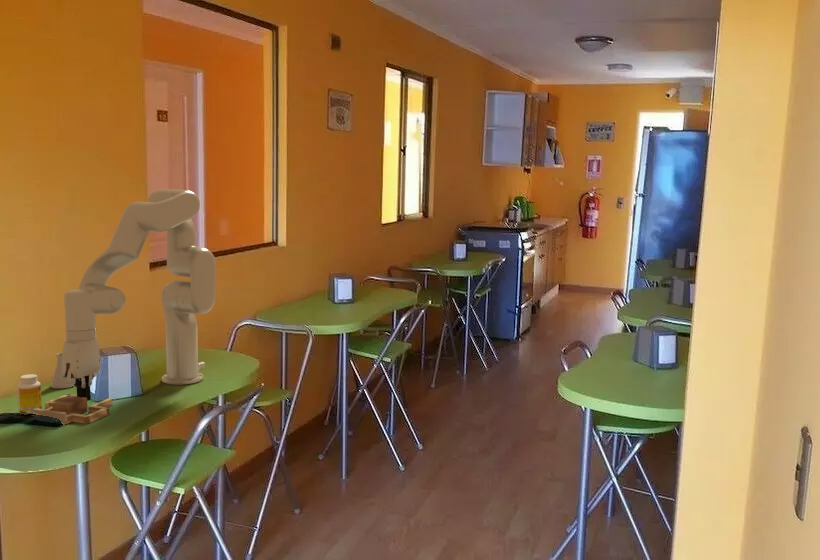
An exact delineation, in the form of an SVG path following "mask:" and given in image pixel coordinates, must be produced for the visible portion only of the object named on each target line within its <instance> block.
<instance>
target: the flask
mask: <svg viewBox="0 0 820 560" xmlns="http://www.w3.org/2000/svg"><path fill="white" fill-rule="evenodd" d="M55 356H56V358H57V362H56V368H55V371H54V374H53V378H52V380H51V382H50V385H49V386H50V387H51V388H52V389H67V388H73V387H75V386H74V384H68V383H67V377H63V376H62V352H58V353H56V354H55ZM72 386H73V387H72Z"/></svg>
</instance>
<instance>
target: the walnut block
mask: <svg viewBox="0 0 820 560" xmlns="http://www.w3.org/2000/svg"><path fill="white" fill-rule="evenodd" d="M52 405H53V411H59V412H66V413H67V415H68V414H71V413H74V414H81V415H84V414H86V413H89V412H88V401H87V398H84V397H77V396H70V397H68V398H65V399H62V400H60V401H57V402H54V403H52Z"/></svg>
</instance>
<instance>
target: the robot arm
mask: <svg viewBox="0 0 820 560" xmlns="http://www.w3.org/2000/svg"><path fill="white" fill-rule="evenodd" d="M200 208H201V201H200V198H199V197H198V195H197V194H196V193H195V192H194V191H191V190H187V189H172V188H171V189H169V188H162V189H160V188H159V189H157V190H153V191H152V192H151V193H150V194H149V197H148V201H135V202H130V203H129V204H128V205H127V206H126V207H125V208H124V211H123V213H122V215H121V218H120V220H119V222H118V225H117V226H116V229H115V231H114V234H113V236H112V238H111V241H110V242H109V245H108V247H107V248H106V249H105V250H104V251H103V252H102V253H101V254H99V256H97V257H96V258H95V260H94V261H93V262H92V263H91V264H90V265H89V266H88V268H87V269H86V271H85V272H84V274H83V276H82V278H81V281H80V283H79V286H78V289H77V288H76V289H70V290H67V291H66V292H65V293H64V295H63V301H64V320H65V321H64V324H65V325H64V326H65V341H64V342H63V346H62V352H61V353H62V376H63V377H67V383H68V384H74V386H73V387H75V388H76V395H77V397H84V398H87V402H88V401H91V400H92V399H91V396H92V395H91V386H92V384H93V380H94V379H95V377H97V376H99V371H100V370H101V353H100V351H101V350H100V346H99V345H100V344H99V341H98V338H97V326H96V319H97V318H96V315H105V314H106V315H111V314H116V313H118V312H120V311H121V310H122V309H123V308H124V307H125V305H126V301H127V299H126V294H125V293H124V292H123V291H122V290H121V289H119V288H118V287H116V286H115V287H114V286H108V285H107V282H108V280H109V279H110V278H111V277H112V275H113V274H114V273H116V272H117V271H118V270H120V269H122V268H124V267H127V266H128V265H130V264H132V263H134V262H136V261H138V259H139V258H140V256H141V253H142V251H143V248H144V245H145V243H146V241H147V237H148V236H149V234H150V233H151V232H152V233H163V232H165V231H166V266H167V270H168V272H169V273H170V274H172V275H174V276H176V277H184V278H190V279H189V281H188V280H183V279H182V280H181V279H177V280H172V281H171V280H170V282H167V283H166V284H165V285H164V286H163V288H162V290H161V297H160V298H161V300H160V301H161V304H162V308H163V312H164V321H165V323H164V324H165V356H166V357H165V359H166V374H163V376H161V382H163V383H164V384H167V385H173V386H174V385H175V386H176V385H177V386H179V385H180V386H182V385H191V384H195V383H199V382H201V381H202V380H204V374H203V373H202V372H200V369H203V368H205V366H206V363H205V362H204V361H200V362H199V350H198V347H199V345H198V341H199V340H198V323H197V322H198V320H197V317H196V315H205V314H208V313H209V312H211V310H212V309H213V307H214V305H215V303H216V297H217V295H216V294H217V263H216V262H217V261H216V258H215V255H214V254H213V253H212V251H211V250H209V249H208V248H205V247H201V246H197V243H196V242H197V241H196V240H197V236H196V228H195V224H194V221H193V218H194V217H196V215H197V214H198V213H199V211H200ZM195 314H196V315H195Z"/></svg>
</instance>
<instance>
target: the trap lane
mask: <svg viewBox="0 0 820 560" xmlns="http://www.w3.org/2000/svg"><path fill="white" fill-rule="evenodd" d="M70 396H77V394H73V393H72V394H70V393H66V394H65V395H64V394H63V395H61V396H58V397H56V398H53V399H50V400H47V401H45V402H44V409H43V408H42V409H38V408H35V409H33V414H36V415H43V416H49V417H53V418H57V419H59V420H60V421H61V423H62V424H63V425H62V426H65V424H66V425H67V424H70V423H73V422H74V423H78V424H85V425H86V424H87V425H88V424H91V423H93V422H95V421H97V420H99V419H102V418H104V417H106V416H109V415H110V414H111V411H110V407H111V406H110V405H112V404H114V403H113V398H106V399H104V400H102V401H99V402H96V403H94V404H92V405H89V406H88V405H87V409H88V412H87V413H88V414H74V413H71V414H68V415H67V413H66V412H59V411H53V405H52V403H54V402H57V401H60V400H62V399H65V398H68V397H70ZM112 406H113V405H112Z"/></svg>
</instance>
